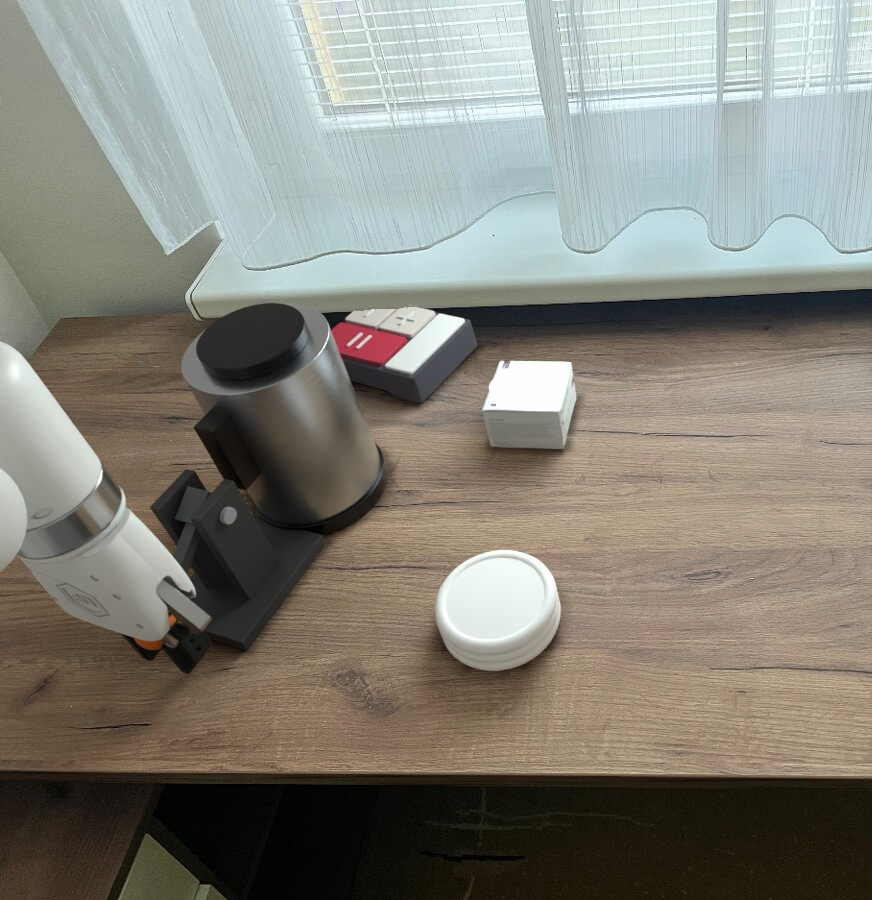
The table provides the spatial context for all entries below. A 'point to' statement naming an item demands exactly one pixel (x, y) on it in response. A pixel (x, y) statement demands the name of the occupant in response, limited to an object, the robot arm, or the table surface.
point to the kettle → (285, 417)
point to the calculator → (403, 349)
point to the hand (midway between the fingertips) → (178, 650)
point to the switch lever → (183, 543)
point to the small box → (530, 404)
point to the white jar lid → (498, 610)
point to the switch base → (237, 559)
